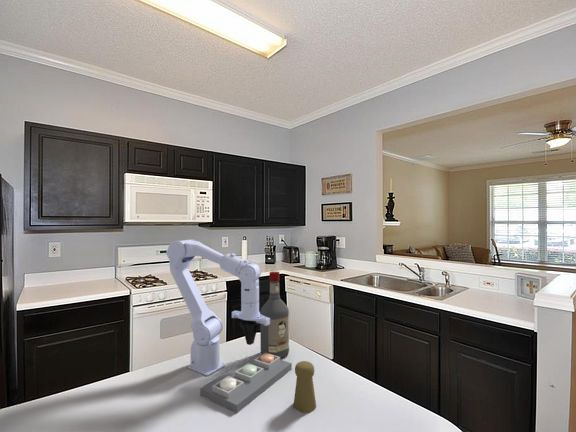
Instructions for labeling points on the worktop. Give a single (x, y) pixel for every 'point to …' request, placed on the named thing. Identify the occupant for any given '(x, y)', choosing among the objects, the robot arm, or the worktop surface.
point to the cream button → (228, 384)
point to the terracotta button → (267, 358)
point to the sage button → (249, 370)
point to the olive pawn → (304, 387)
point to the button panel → (246, 383)
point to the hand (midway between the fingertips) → (250, 343)
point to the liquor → (275, 322)
